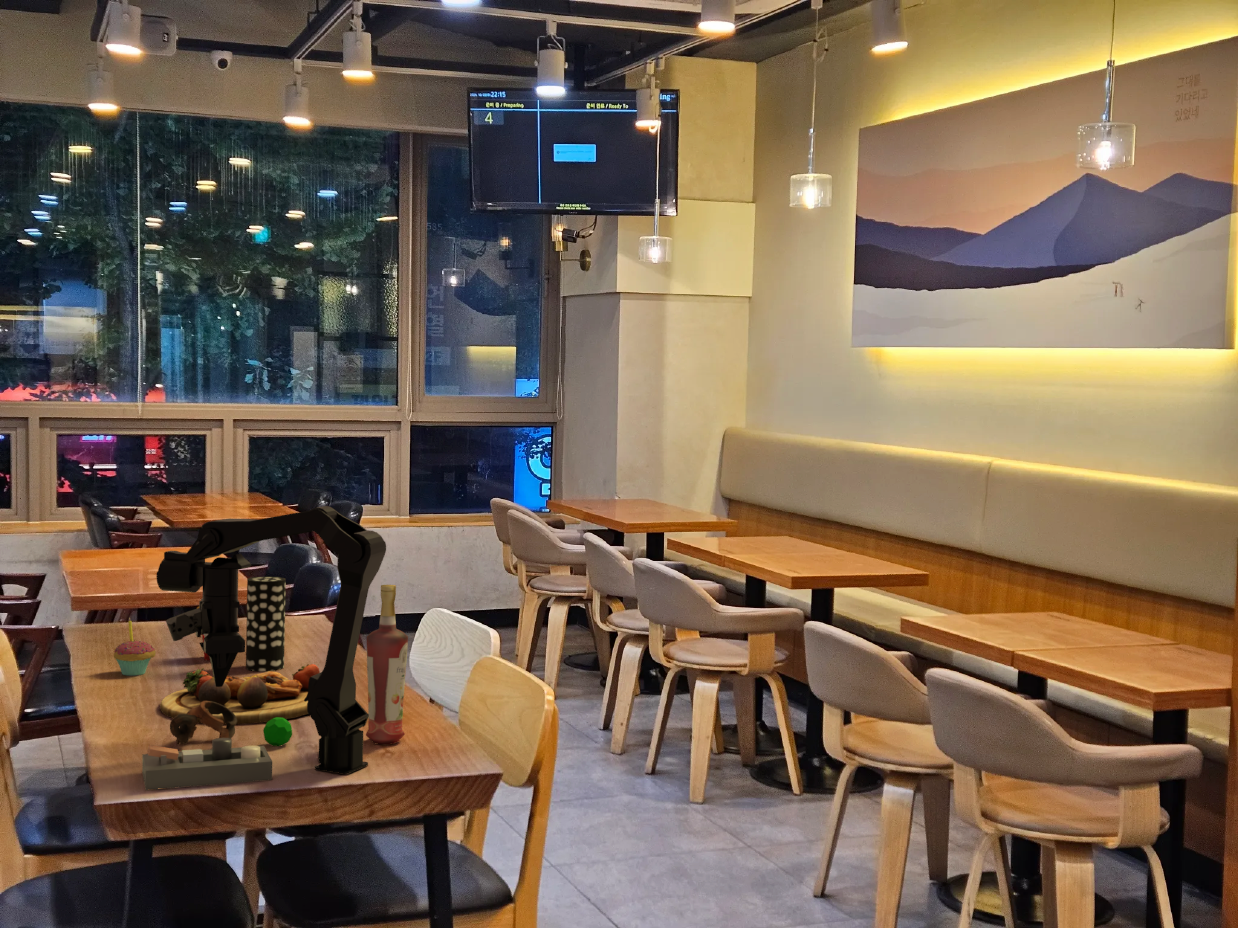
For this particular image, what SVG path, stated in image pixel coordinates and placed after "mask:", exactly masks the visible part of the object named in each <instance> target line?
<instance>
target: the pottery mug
mask: <svg viewBox="0 0 1238 928" xmlns="http://www.w3.org/2000/svg"><path fill="white" fill-rule="evenodd" d="M206 708H208V711H209V712H208V711H207V710H206ZM212 714H222V715H223V717H224V722H223V720H220V719H218V718H216V717H215V716H213V715H212ZM197 718H199V719H201V720H200V722H201V723H200V724H202V723H203V725H205V726H206V727H208V728H211V729H213V730H214V731H215V732H218V733H219V737H218V738H230V739H232V738H233V737H234V735H235V734H236V727H235V726H236V725H237V724H236V723H237V717H236V716H235V715H234V713H233V712H232V711H230V710H229V709H228V708H226V707H225V706H223V705H221V704H219V703H216V702H212V701H203V702H201V703H200V705H199V706H198V707H195V708H192V709H191V710H189V711H188V712H187V714H178V715H177V716H175V717H174V718H171V721H170V723H169V731H170V733H171V735H172V736H173V737H175V738H176V739H175V743H176V745H177V746H178V745H180V744H188V743H189V739H192V738H193V737H194V733H195V731H196V730H197V726H196V725H197V724H198V723H197ZM224 723H227V724H224ZM224 725H226V727H223V726H224Z"/></svg>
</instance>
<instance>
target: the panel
mask: <svg viewBox="0 0 1238 928" xmlns="http://www.w3.org/2000/svg"><path fill="white" fill-rule="evenodd" d="M258 746H259V747H260V757H257V758H243V759H241V748H242V747H243V746H242V747H241V746H239V747H232V755H231V759H230V760H216V761H214V760H212V748H211V749H202V752H203V762H190V763H182V751H178V753H179V755H178V759H177V760H174V759H167V758H166V755H161V757H155V756H149V755H148V753H143V754H142V755H141V756H142V757H141V759H142V760H141V766H142V767H141V768H142V769H141V774H142V779H143V783H144V787H145V788H144V789H145V791H149V790H148V789H155V790H159V789H158V788H167V789H174V788H175V787H179V788H191V787H200V786H215V785H227V784H229V785H230V784H238V783H251V782H262V781H272V780H273V760H272V758H271V756H270V754H269V752H268V751H267V749H266V747H265V745H258ZM188 786H190V787H188ZM175 789H176V788H175Z"/></svg>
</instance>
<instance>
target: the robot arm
mask: <svg viewBox="0 0 1238 928" xmlns="http://www.w3.org/2000/svg"><path fill="white" fill-rule="evenodd" d="M312 532H313V533H315V534H316V535H318V536H319V537H320V539H321V540H322V541H323V543H324V544H325V545H326V547H328V548H329V549H330V550H332V551H333V552H334V553H335V554H337V563H336V565H337V573H338V576H339V581H340V588H339V593H338V597H337V603H336V606H335V607H336V608H335V613H334V618H333V623H332V628H331V632H330V636H329V643H328V648H327V651H326V653H327V654H326V657H325V661H324V662H325V663H324V667H323V669H322V671H321V672H320V673H318V674H316V675H314V676H312V677H310V678H309V683H308V693H307V696H306V698H305V699H304V701H305V702H306V701H308V703H307V712H308V714H307V715H309V717H310V718H311V719H312V721H313V722H314V725H315V728H316V731H317V734H318V736H319V737H320V738H319V739H318V761H317V762H318V764H317V765H315V766H314V770H316V771H323V772H328V773H334V774H335V773H336V774H341V775H342V774H343V775H349V774H351V773H354V772H356V771H359V770H361V769H363V768H365V767H367V766H369V762H368V761H364V730H361V728H364V727H365V726H366V725H367V722H368V717H369V714H368V712H367V711H366V710H365V708H363V706H362V705H361V704H360V702H358V701H357V700H356V699H357V696H356V695H357V693H356V692H357V683H356V678H355V672H354V664H355V657H356V654H357V649H358V643H359V639H360V634H361V633H360V632H361V628H362V623H363V619H364V613H365V609H366V603H367V599H368V598H367V597H368V594H369V589H370V587H371V584H372V582H373V581H374V579H375V578H376V576H377V574H378V573H379V570H380V568H381V566H382V564H383V560H384V558H385V555H386V553H387V552H386V551H387V543H386V541H385V540H384V538H383V537H382V535H381V534H380V533H378V532H377V531H374V530H371V529H370V530H369V529H366V528H365V527H363V525H361V524H359V523H357V522H356V521H354V520H352V519H350V518H348V517H346V516H344V515H343V514H341V513H340V512H338V511H337V510H336V509H334V508H333V507H331V506H329V505H328V506H326V505H324V506H318V507H314V508H312V509H310V510H304V511H299V512H294V513H293V512H292V513H288V514H281V515H278V516H277V515H276V516H271V517H266V518H261V519H260V518H259V519H258V518H257V519H256V518H255V519H254V518H253V519H251V518H223V519H222V518H221V519H215V520H211V521H207V522H204V523H203V524H202V525H201V527H200V529H199V530H198V533H197V539H196V540H195V541H194V543H193V544H192V546H191V547H190V548H189V549H188V551H187V552H184V551H183V552H182V551H178V550H167V551H165V552H163V559H162V560H161V562H160V563H159V566H158V569H157V572H156V575H155V576H156V583H157V586H158V588H159V589H160V590H161V591H164V592H182V593H192V594H193V593H198V591H200V589H201V588H202V598H200V600H199V602H198V607H199V608H197V607H196V609H192V610H188V611H186V612H183V613H180V614H177V615H175V616H173V617H170V618H168V619H166V620H165V623H166V625H167V627H168V630H169V633H170V635H171V636H170V637H171V639H172V641H173V642H177V641H180V640H183V639H184V638H185V637H188V636H190V635H193V634H195V636H196V638H201V637H202V635H204V636H205V638H204V642H203V641H201V642H199V643H198V644H199V645H200V647H201V650H202V652H203V653H204V652H205V653H206V654H207V655H209V657H210V660H209V661H210V664H211V665H210V666H211V670H212V677H214V681H215V686H216V687H222V686H223V684H224V682H225V680H226V677H227V676H229V674H230V670H231V668H232V666H233V665H234V662H235V660H236V659H237V656H238V654H240V653H241V654H242V653H246V639H245V638H244V637H243V636H242V635H241V634H240V625H239V624H238V623H239V622H238V618H239V608H240V600H239V570H244V569H249V568H250V567H251V566H252V564H251V562H250V561H249V560H248V559H246V558H245V557H244V556H243V553H236V554H233V556H231V557H221V555H224V554H230V553H235V552H236V551H240V550H243V549H245V548H247V547H251V546H253V545H255V544H256V543H259V542H261V541H262V542H263V541H266V540H273V539H278V538H284V537H290V536H291V537H292V536H295V535H301V534H306V533H312ZM211 558H214V559H213V561H212V562H211V561H206V560H207V559H211Z"/></svg>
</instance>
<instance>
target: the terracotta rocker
mask: <svg viewBox="0 0 1238 928" xmlns="http://www.w3.org/2000/svg"><path fill="white" fill-rule="evenodd" d="M178 752H179V751H178V748H171V747H165V746H160V745H153V744H149V745H148V748H147V754H148V755H149V756H155V757H161V755H166V758H167V759H174V760H177V759H178V755H179V753H178Z"/></svg>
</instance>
